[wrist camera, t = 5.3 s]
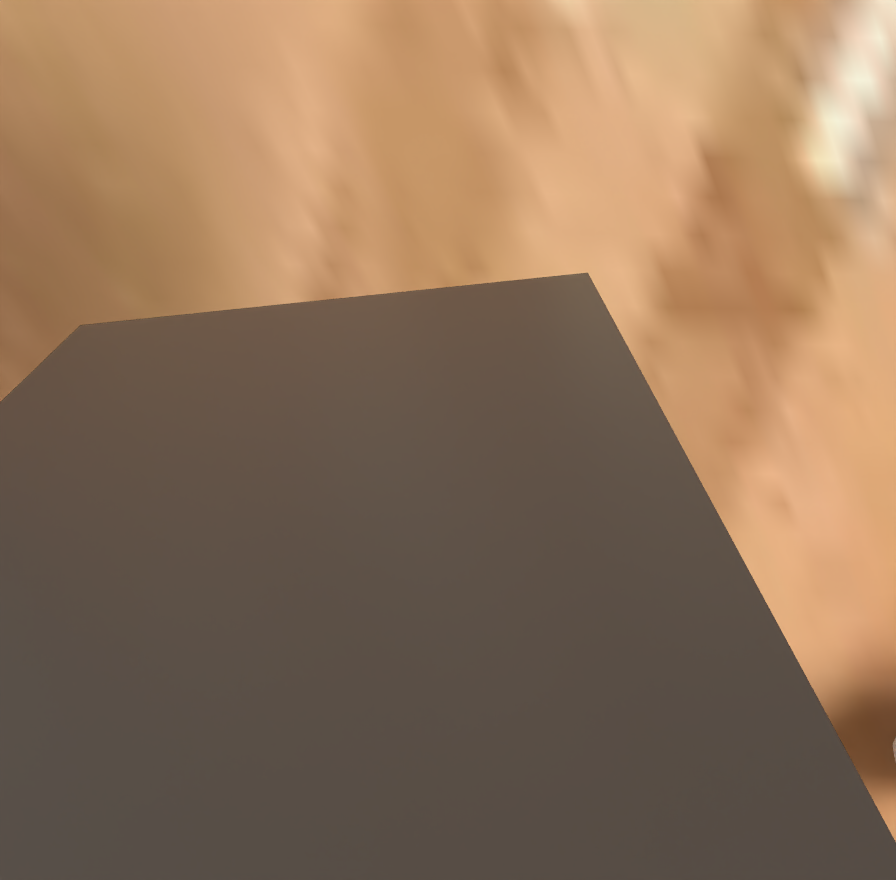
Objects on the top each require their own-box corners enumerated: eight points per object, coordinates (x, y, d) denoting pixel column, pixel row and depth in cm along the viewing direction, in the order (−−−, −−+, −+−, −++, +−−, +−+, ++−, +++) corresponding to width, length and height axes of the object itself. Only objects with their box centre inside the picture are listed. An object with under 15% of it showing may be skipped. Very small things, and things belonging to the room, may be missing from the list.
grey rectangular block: (80, 325, 11) (-761, 1135, 3) (587, 272, 11) (986, 1014, 3) (254, 833, 16) (93, 1601, 8) (597, 805, 16) (750, 1571, 8)
